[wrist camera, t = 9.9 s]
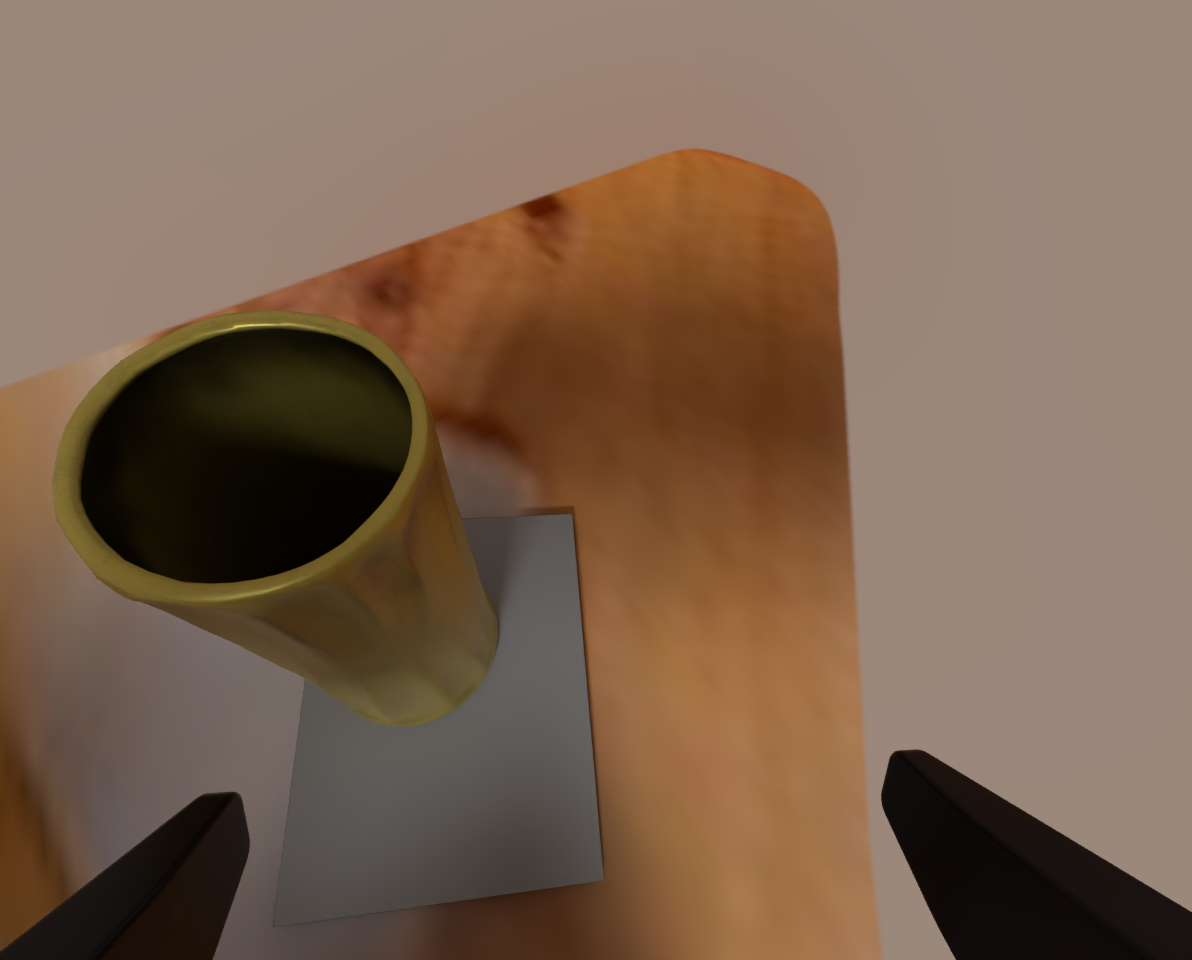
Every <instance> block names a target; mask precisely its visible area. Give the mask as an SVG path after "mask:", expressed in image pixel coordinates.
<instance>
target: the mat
mask: <svg viewBox="0 0 1192 960" xmlns="http://www.w3.org/2000/svg"><path fill="white" fill-rule="evenodd" d="M461 520H462V522H463V525H464V528H465V531H466V534H467V537H468V540H469V544H470V547H471V551H472V554H473V557H474V559H475V562H476V566H477V570H478V574H479V577H480V581H481V584H482V587H483V588H484V589H485V591H486V593H487V595H488V596H489V598H490V601H491V603H492V605H493V608H494V611H495V614H496V618H497V634H498V635H497V645H496V650H495V654H494V658H493V661H492V664H491V666H490V668H489V671H488V673H487V674H486V676H485V678H484V680H483V681H482V683H481V684H480V686H479V687H478V688H477V689H476V690H475V692H474V693H473V694H472V695H471V696H470V697H469V698H468V699H467V700H466V701H465V702H464V703H463V704H462V705H460V706H459V707H458V708H457V709H455V710H454V711H452V712H451V713H449V714H447V715H445V716H443V717H441V718H438V719H436V720H433V721H430V722H427V723H424V724H419V725H414V726H406V727H400V726H389V725H385V724H380V723H376V722H373V721H370V720H368V719H366V718H363V717H361V716H359V715H357V714H355V713H354V712H352V711H351V710H350V709H349V708H348V707H347V706H346V704H343V703H341V702H339V701H338V700H336V699H335V698H334V697H333V696H331V695H330V694H328V693H326V692H325V691H323V690H322V689H320V688H319V687H318V686H317V685H315V684H314V683H312V682H311V681H309V680H308V679H306V678H305V684H304V691H303V699H302V707H301V714H300V722H299V730H298V737H297V745H296V753H295V760H294V768H293V776H292V783H291V791H290V799H289V806H288V814H287V822H286V829H285V837H284V845H283V852H282V860H281V868H280V876H279V883H278V891H277V899H276V906H275V914H274V922H273V927H278V926H285V925H293V924H300V923H307V922H314V921H321V920H328V919H335V918H342V917H349V916H356V915H363V914H371V913H378V912H385V911H392V910H399V909H406V908H413V907H420V906H427V905H434V904H442V903H449V902H456V901H463V900H470V899H477V898H484V897H491V896H498V895H505V894H512V893H520V892H527V891H534V890H541V889H548V888H555V887H562V886H569V885H576V884H583V883H590V882H598V881H604V877H603V865H602V854H601V842H600V831H599V819H598V808H597V796H596V785H595V773H594V762H593V750H592V739H591V727H590V715H589V704H588V692H587V681H586V669H585V658H584V646H583V635H582V623H581V612H580V600H579V589H578V577H577V565H576V554H575V542H574V531H573V519H572V514H560V515H537V516H515V517H493V518H471V519H461Z"/></svg>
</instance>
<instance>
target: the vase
mask: <svg viewBox="0 0 1192 960" xmlns="http://www.w3.org/2000/svg"><path fill="white" fill-rule="evenodd" d="M53 502H54V508H55V513H56V518H57V521H58V523H59V525H60V527H61V529H62V530H63V532H64V534H65V536H66V537H67V539H68V540H69V542H70V543H71V544H72V546H73V547H74V549H75V550H76V551H77V553H78V554H79V556H80V557H81V558H82V559H83V561H84V562H85V563H86V564H87V566H88V567H89V568H90V570H91V571H92V572H93V574H94V575H95V576H96V578H97V579H99V580H100V581H101V582H103V583H104V584H105V585H107V586H108V587H110V588H111V589H112V590H114V591H115V592H117V593H118V594H120V595H121V596H123V597H125V598H127V599H130V600H133V601H139V602H143V603H145V604H148V605H151V606H153V607H156V608H158V609H161V610H163V611H165V612H168V613H170V614H172V615H174V616H176V617H178V618H180V619H183V620H185V621H187V622H189V623H191V624H193V625H195V626H197V627H199V628H201V629H204V630H206V631H208V632H210V633H213V634H215V635H217V636H219V637H222V638H224V639H226V640H229V641H231V642H233V643H235V644H238V645H240V646H242V647H243V648H245V649H247V650H249V651H251V652H253V653H255V654H257V655H259V656H261V657H263V658H265V659H267V660H269V661H271V662H273V663H274V664H276V665H278V666H280V667H282V668H284V669H287V670H289V671H292V672H294V673H296V674H298V675H300V676H302V677H304V678H306V679H308V680H309V681H311V682H312V683H314V684H315V685H317V686H318V687H319V688H320V689H322V690H323V691H325V692H326V693H328V694H330V695H331V696H333V697H334V698H335V699H336V700H338V701H339V702H341V703H343V704H346V706H347V707H348V708H349V709H350V710H351V711H352V712H354V713H355V714H357V715H359V716H361V717H363V718H366V719H368V720H370V721H373V722H376V723H380V724H385V725H389V726H400V727H406V726H414V725H419V724H424V723H427V722H430V721H433V720H436V719H438V718H441V717H443V716H445V715H447V714H449V713H451V712H452V711H454V710H455V709H457V708H458V707H459V706H460V705H462V704H463V703H464V702H465V701H466V700H467V699H468V698H469V697H470V696H471V695H472V694H473V693H474V692H475V690H476V689H477V688H478V687H479V686H480V684H481V683H482V681H483V680H484V678H485V676H486V674H487V673H488V671H489V668H490V666H491V664H492V661H493V658H494V654H495V650H496V645H497V635H498V634H497V618H496V614H495V611H494V608H493V605H492V603H491V601H490V598H489V596H488V595H487V593H486V591H485V589H484V588H483V587H482V584H481V581H480V577H479V574H478V570H477V566H476V562H475V559H474V557H473V554H472V551H471V547H470V544H469V540H468V537H467V534H466V531H465V528H464V525H463V522H462V520H461V516H460V513H459V510H458V507H457V504H456V501H455V498H454V495H453V492H452V489H451V485H450V482H449V478H448V474H447V471H446V467H445V463H444V460H443V456H442V452H441V448H440V444H439V440H438V436H437V432H436V428H435V423H434V420H433V417H432V413H431V410H430V407H429V405H428V402H427V399H426V397H425V394H424V392H423V390H422V388H421V386H420V384H419V382H418V380H417V379H416V378H415V376H414V375H413V374H412V372H411V371H410V370H409V368H408V367H407V366H406V364H405V363H404V362H403V361H402V359H401V358H400V357H399V356H398V355H397V354H396V353H395V352H394V351H393V350H392V348H391V347H390V346H388V345H387V344H386V343H385V342H384V341H382V340H381V339H380V338H379V337H377V336H375V335H373V334H371V333H370V332H368V331H366V330H364V329H362V328H360V327H357V326H355V325H353V324H351V323H348V322H345V321H341V320H338V319H335V318H330V317H325V316H319V315H314V314H306V313H299V312H289V311H253V312H241V313H231V314H224V315H220V316H216V317H212V318H209V319H206V320H203V321H200V322H196V323H193V324H191V325H189V326H186V327H184V328H181V329H179V330H177V331H175V332H173V333H171V334H169V335H167V336H165V337H163V338H161V339H159V340H157V341H155V342H153V343H151V344H149V345H147V346H145V347H143V348H141V349H139V350H138V351H136V352H134V353H133V354H131V355H130V356H128V357H126V358H125V359H123V360H121V361H120V362H119V363H118V364H117V365H116V366H114V367H113V368H112V369H111V370H110V371H109V372H108V373H106V374H105V375H104V376H103V378H102V379H101V380H100V381H99V382H98V383H97V384H96V385H95V386H94V387H93V388H92V389H91V390H90V391H89V393H88V394H87V395H86V396H85V398H84V399H83V400H82V402H81V403H80V404H79V405H78V407H77V408H76V410H75V411H74V413H73V415H72V417H71V418H70V420H69V422H68V423H67V425H66V427H65V430H64V432H63V435H62V437H61V440H60V443H59V448H58V453H57V458H56V463H55V469H54V475H53Z"/></svg>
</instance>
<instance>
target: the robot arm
mask: <svg viewBox="0 0 1192 960" xmlns="http://www.w3.org/2000/svg"><path fill="white" fill-rule="evenodd" d="M881 801H882V806H883V809H884V812H885V815H886V817H887V819H888V821H889V823H890V826H891V827H892V830H893V832H894V834H895V836H896V838H897V840H898V843H899V845H900V847H901V849H902V851H903V853H904V856H905V858H906V860H907V862H908V864H909V866H910V869H911V871H912V873H913V875H914V877H915V879H916V881H917V883H918V886H919V888H920V890H921V892H922V894H923V897H924V899H925V901H926V903H927V905H928V907H929V909H930V911H931V913H932V915H933V917H934V919H935V921H936V923H937V925H938V927H939V929H940V931H941V933H942V935H943V937H944V939H945V940H946V942H947V944H948V946H949V948H950V950H951V952H952V953H953V955H954V957H955V959H956V960H1192V912H1191V911H1189V910H1187V909H1185V908H1184V907H1182V906H1181V905H1179V904H1177V903H1176V902H1174V901H1172V900H1170V899H1169V898H1167V897H1165V896H1164V895H1162V894H1161V893H1159V892H1157V891H1156V890H1154V889H1152V888H1151V887H1149V886H1147V885H1146V884H1144V883H1143V882H1141V881H1139V880H1137V879H1136V878H1134V877H1133V876H1131V875H1129V874H1128V873H1126V872H1124V871H1122V870H1121V869H1119V868H1118V867H1116V866H1114V865H1113V864H1111V863H1109V862H1108V861H1106V860H1104V859H1103V858H1101V857H1099V856H1098V855H1096V854H1094V853H1093V852H1091V851H1089V850H1088V849H1086V848H1084V847H1082V846H1081V845H1079V844H1078V843H1076V842H1074V841H1073V840H1071V839H1070V838H1068V837H1066V836H1064V835H1063V834H1061V833H1060V832H1058V831H1056V830H1055V829H1053V828H1051V827H1049V826H1048V825H1046V824H1044V823H1043V822H1041V821H1039V820H1038V819H1036V818H1035V817H1033V816H1031V815H1030V814H1028V813H1026V812H1025V811H1023V810H1021V809H1020V808H1018V807H1016V806H1015V805H1013V804H1011V803H1009V802H1008V801H1006V800H1004V799H1003V798H1001V797H1000V796H998V795H996V794H995V793H993V792H991V791H990V790H988V789H987V788H985V787H983V786H982V785H980V784H978V783H977V782H975V781H973V780H972V779H970V778H968V777H967V776H965V775H963V774H961V773H960V772H958V771H957V770H955V769H953V768H952V767H950V766H948V765H947V764H945V763H943V762H942V761H940V760H938V759H937V758H935V757H933V756H932V755H930V754H928V753H926V752H925V751H922V750H917V749H916V750H900V751H895V752H894V753H893V754H892V755H891V756H890V759H889V763H888V767H887V771H886V775H885V780H884V784H883V788H882V793H881ZM249 847H250V839H249V833H248V827H247V822H246V817H245V812H244V807H243V802H242V798H241V796H240V795H239V794H238V793H237V792H219V793H207V794H203V795H201V796H200V797H198V798H196V799H195V800H194V801H192V802H191V803H190V804H189V805H187V806H186V807H185V808H183V809H182V810H181V811H180V812H178V813H177V814H176V815H175V816H173V817H172V818H171V819H169V820H168V821H167V822H166V823H164V824H163V825H162V826H160V827H159V828H158V829H157V830H155V831H154V832H153V833H152V834H150V835H149V836H148V837H146V838H145V839H144V840H143V841H141V842H140V843H139V844H137V845H136V846H135V847H134V848H132V849H131V850H130V851H129V852H127V853H126V854H125V855H123V856H122V857H121V858H120V859H118V860H117V861H116V862H114V863H113V864H112V865H111V866H109V867H108V868H107V869H106V870H104V871H103V872H102V873H100V874H99V875H98V876H97V877H95V878H94V879H93V880H91V881H90V882H89V883H88V884H86V885H85V886H84V887H82V888H81V889H80V890H79V891H77V892H76V893H75V894H74V895H72V896H71V897H70V898H68V899H67V900H66V901H65V902H63V903H62V904H61V905H59V906H58V907H57V908H56V909H54V910H53V911H52V912H51V913H49V914H48V915H47V916H45V917H44V918H43V919H42V920H40V921H39V922H38V923H36V924H35V925H34V926H33V927H31V928H30V929H29V930H28V931H26V932H25V933H24V934H22V935H21V936H20V937H19V938H17V939H16V940H15V941H13V942H12V943H11V944H10V945H8V946H7V947H6V948H5V949H3V950H2V951H1V952H0V960H213V957H214V954H215V951H216V948H217V945H218V943H219V940H220V937H221V934H222V931H223V928H224V925H225V922H226V919H227V917H228V914H229V911H230V908H231V905H232V902H233V899H234V896H235V893H236V891H237V888H238V885H239V882H240V879H241V876H242V873H243V870H244V867H245V865H246V862H247V858H248V854H249Z"/></svg>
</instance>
